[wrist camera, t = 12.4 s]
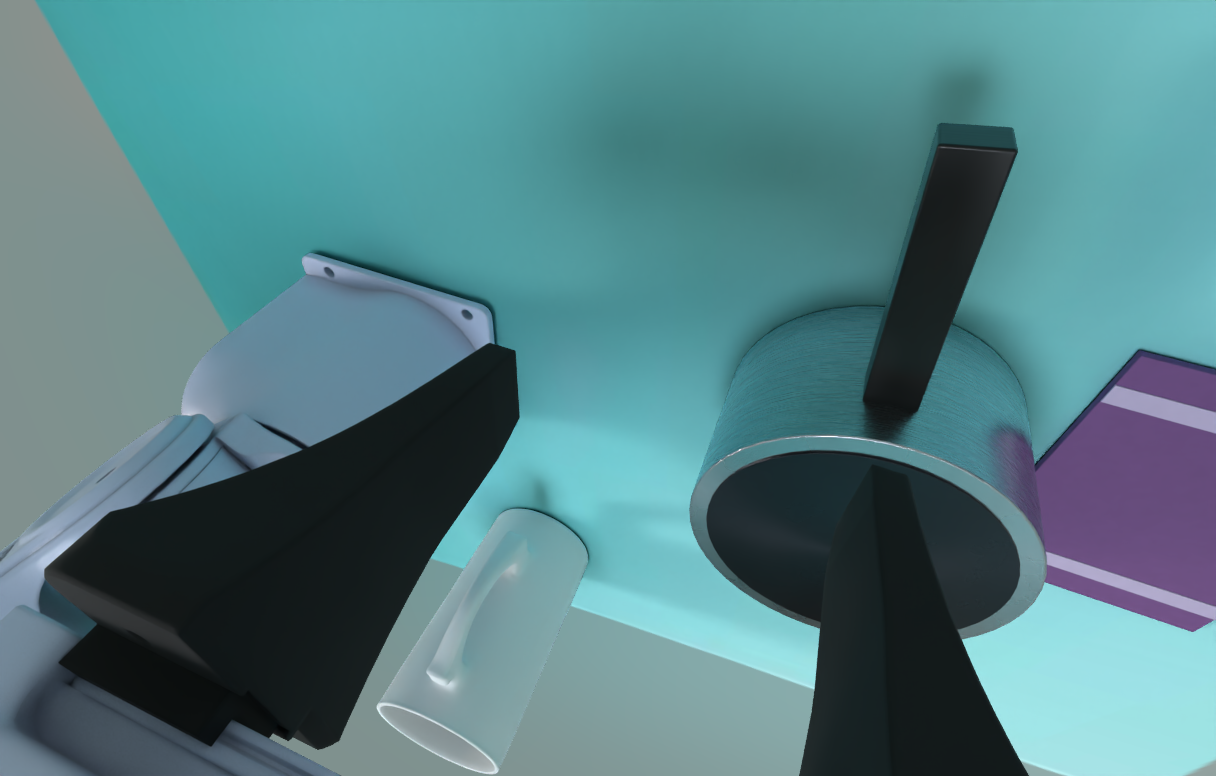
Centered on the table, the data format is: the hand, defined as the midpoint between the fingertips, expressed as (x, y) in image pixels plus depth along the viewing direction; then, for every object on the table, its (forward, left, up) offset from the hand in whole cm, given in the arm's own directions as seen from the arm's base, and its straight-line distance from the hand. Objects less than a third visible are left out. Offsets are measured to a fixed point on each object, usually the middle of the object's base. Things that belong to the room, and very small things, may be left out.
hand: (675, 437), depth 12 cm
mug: (-8, -23, -10) cm, 26 cm away
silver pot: (+5, -4, -10) cm, 12 cm away
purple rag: (+15, -7, -10) cm, 20 cm away
